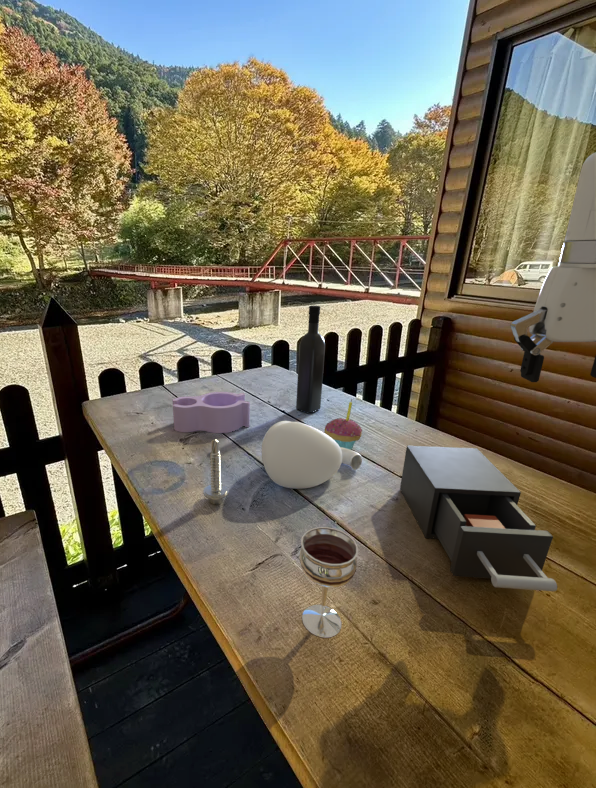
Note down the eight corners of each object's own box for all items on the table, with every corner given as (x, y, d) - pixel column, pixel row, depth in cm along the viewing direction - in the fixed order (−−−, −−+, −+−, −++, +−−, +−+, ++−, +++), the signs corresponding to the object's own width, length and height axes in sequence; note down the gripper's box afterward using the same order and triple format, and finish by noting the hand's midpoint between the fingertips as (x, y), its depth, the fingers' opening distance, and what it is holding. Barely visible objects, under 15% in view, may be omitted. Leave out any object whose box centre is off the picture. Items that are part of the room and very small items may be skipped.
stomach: (367, 498, 85) (299, 459, 106) (383, 437, 84) (311, 410, 105) (278, 497, 75) (221, 453, 96) (294, 427, 73) (233, 399, 94)
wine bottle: (294, 409, 121) (299, 306, 110) (306, 404, 124) (312, 304, 114) (310, 414, 117) (317, 308, 106) (321, 409, 120) (329, 306, 110)
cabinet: (506, 543, 66) (521, 492, 63) (425, 538, 67) (435, 488, 64) (466, 492, 80) (476, 448, 76) (399, 488, 81) (406, 445, 78)
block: (489, 539, 64) (495, 515, 62) (504, 560, 60) (511, 535, 58) (458, 537, 64) (464, 513, 63) (471, 558, 60) (477, 533, 59)
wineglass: (324, 592, 57) (331, 520, 53) (360, 629, 51) (371, 552, 47) (284, 611, 54) (288, 537, 50) (318, 653, 48) (326, 574, 44)
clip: (175, 436, 104) (173, 411, 102) (173, 417, 116) (171, 394, 113) (251, 430, 107) (252, 406, 104) (242, 412, 118) (242, 390, 116)
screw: (231, 506, 76) (205, 509, 75) (226, 491, 81) (201, 494, 80) (230, 443, 72) (203, 446, 71) (225, 432, 76) (199, 434, 75)
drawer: (566, 617, 52) (584, 569, 49) (471, 610, 53) (484, 562, 50) (490, 521, 70) (501, 481, 67) (421, 517, 71) (428, 478, 68)
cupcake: (337, 436, 103) (342, 392, 99) (367, 448, 97) (373, 401, 93) (315, 447, 98) (319, 400, 94) (346, 460, 92) (351, 411, 88)
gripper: (643, 252, 56) (608, 371, 62) (511, 256, 58) (488, 372, 64) (697, 253, 49) (651, 387, 55) (545, 257, 51) (516, 387, 57)
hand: (564, 379), depth 60 cm, fingers open, 9 cm apart
